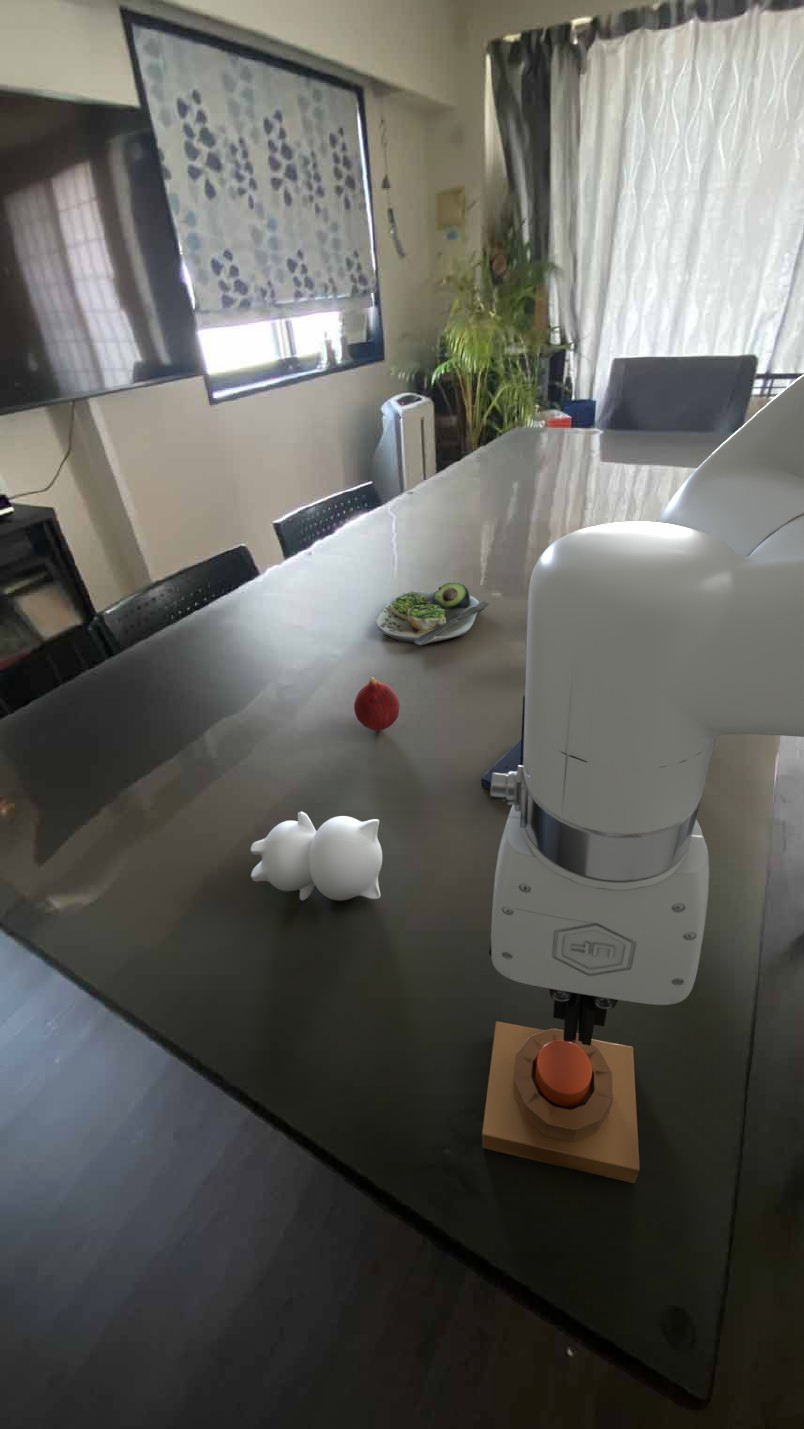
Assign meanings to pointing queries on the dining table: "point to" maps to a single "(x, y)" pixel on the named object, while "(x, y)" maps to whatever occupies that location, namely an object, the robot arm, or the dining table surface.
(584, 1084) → the button
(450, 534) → the dining table surface
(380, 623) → the avocado toast plate
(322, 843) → the cat figurine
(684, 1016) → the dining table surface
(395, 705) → the onion
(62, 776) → the dining table surface
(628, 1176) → the button block
